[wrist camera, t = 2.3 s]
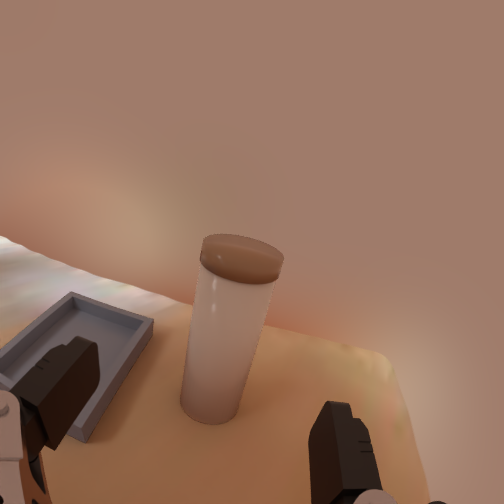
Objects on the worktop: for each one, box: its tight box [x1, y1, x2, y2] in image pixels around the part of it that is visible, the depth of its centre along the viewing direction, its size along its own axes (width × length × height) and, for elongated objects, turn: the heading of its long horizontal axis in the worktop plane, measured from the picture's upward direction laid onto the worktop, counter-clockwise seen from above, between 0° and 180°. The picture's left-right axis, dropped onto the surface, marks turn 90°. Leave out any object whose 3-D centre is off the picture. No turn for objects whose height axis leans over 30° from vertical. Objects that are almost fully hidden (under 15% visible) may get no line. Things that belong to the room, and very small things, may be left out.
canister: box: [180, 234, 284, 424], centre depth 22 cm, size 5×5×14 cm
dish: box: [0, 292, 154, 443], centre depth 24 cm, size 11×16×2 cm
